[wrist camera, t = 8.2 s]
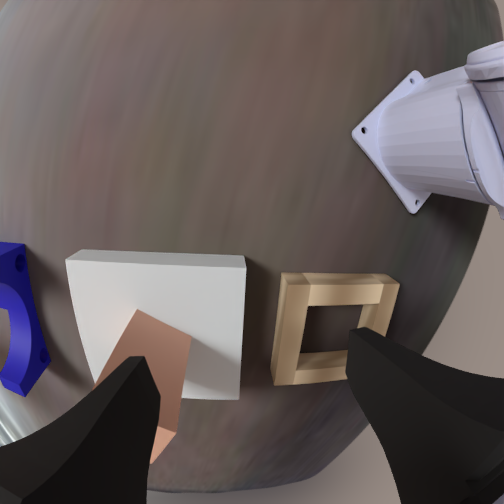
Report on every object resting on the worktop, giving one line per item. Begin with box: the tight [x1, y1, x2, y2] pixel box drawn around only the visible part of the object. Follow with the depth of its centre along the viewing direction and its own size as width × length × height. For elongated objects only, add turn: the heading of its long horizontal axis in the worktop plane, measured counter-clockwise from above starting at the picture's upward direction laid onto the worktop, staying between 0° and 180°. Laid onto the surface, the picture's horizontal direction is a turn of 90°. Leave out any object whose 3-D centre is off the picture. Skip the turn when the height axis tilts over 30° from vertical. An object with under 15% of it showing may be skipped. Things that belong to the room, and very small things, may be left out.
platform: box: [65, 249, 246, 400], centre depth 18 cm, size 12×11×2 cm
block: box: [92, 309, 192, 464], centre depth 13 cm, size 4×4×8 cm
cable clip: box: [0, 242, 51, 397], centre depth 15 cm, size 12×4×6 cm, turn 175°
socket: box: [270, 272, 400, 386], centre depth 20 cm, size 9×9×2 cm
